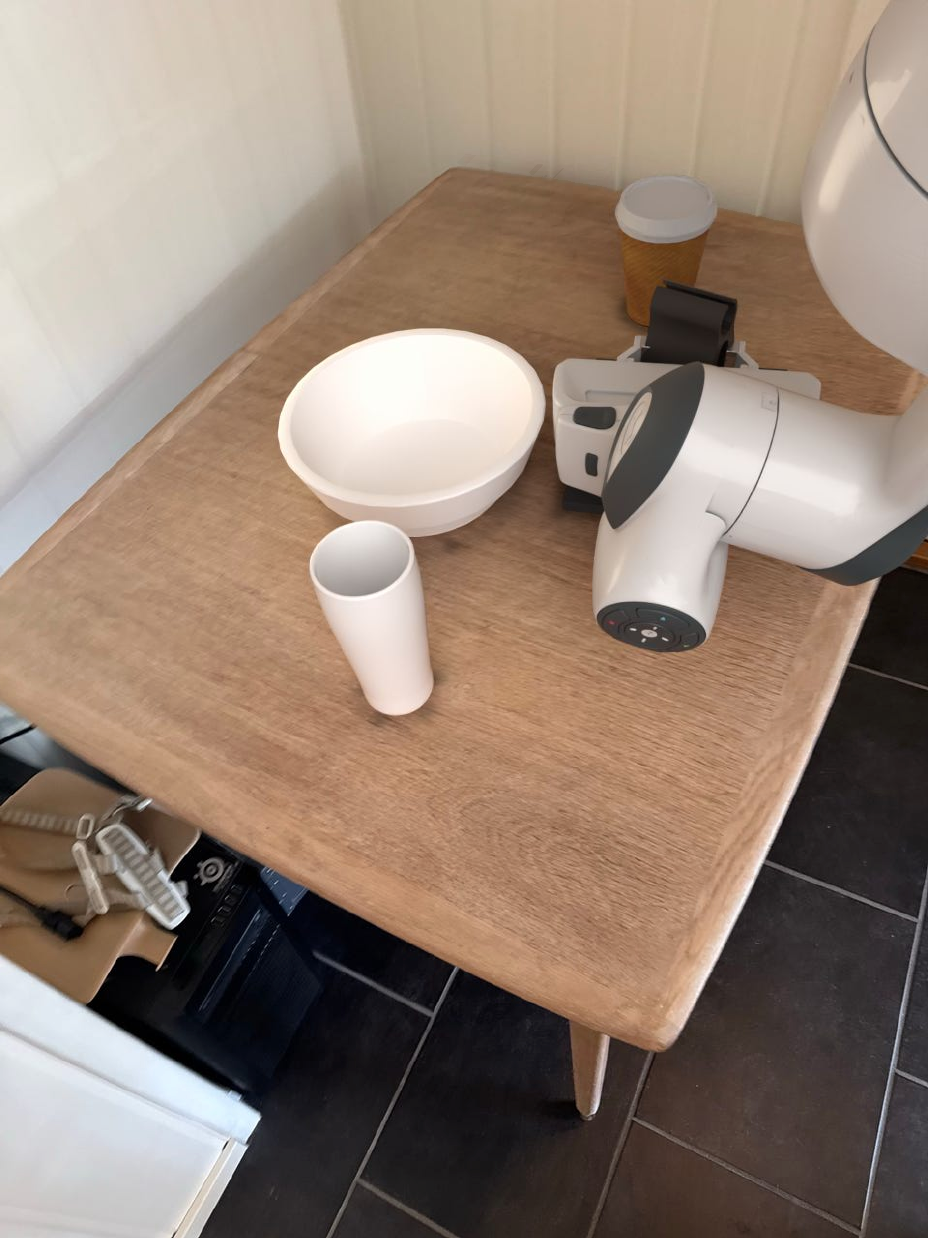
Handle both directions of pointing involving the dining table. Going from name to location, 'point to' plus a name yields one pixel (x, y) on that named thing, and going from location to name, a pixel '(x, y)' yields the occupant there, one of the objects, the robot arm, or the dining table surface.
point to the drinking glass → (376, 611)
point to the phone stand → (689, 326)
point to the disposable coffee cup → (662, 235)
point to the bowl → (414, 427)
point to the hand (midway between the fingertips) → (688, 344)
